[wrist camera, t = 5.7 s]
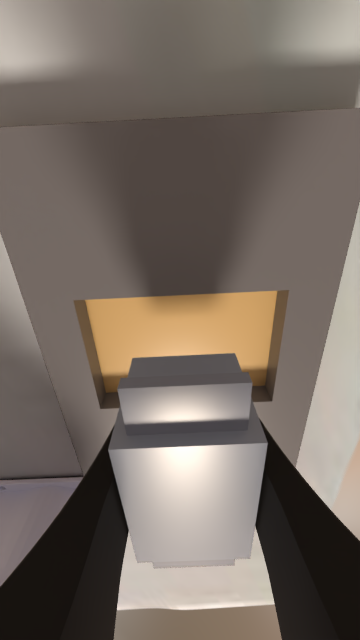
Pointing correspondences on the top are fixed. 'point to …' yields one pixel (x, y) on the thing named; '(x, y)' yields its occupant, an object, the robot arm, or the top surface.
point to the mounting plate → (181, 251)
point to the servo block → (188, 459)
